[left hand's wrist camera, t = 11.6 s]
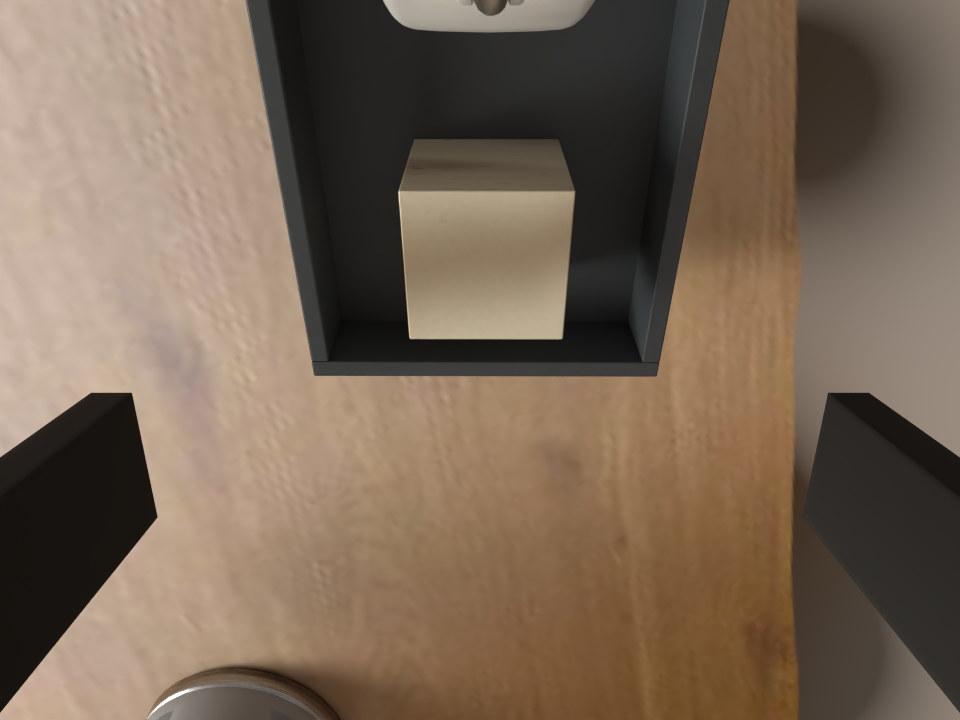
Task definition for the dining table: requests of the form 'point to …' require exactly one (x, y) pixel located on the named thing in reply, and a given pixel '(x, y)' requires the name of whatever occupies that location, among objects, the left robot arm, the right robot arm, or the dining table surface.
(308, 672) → the dining table surface
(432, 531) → the dining table surface
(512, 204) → the block
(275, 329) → the dining table surface
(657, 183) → the tray
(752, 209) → the dining table surface
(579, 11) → the right robot arm
